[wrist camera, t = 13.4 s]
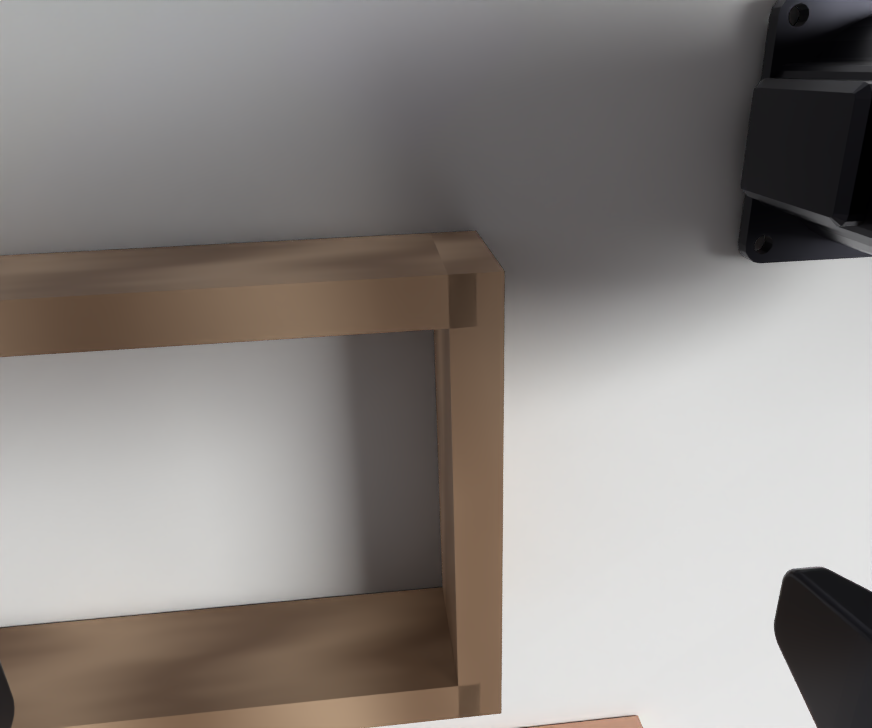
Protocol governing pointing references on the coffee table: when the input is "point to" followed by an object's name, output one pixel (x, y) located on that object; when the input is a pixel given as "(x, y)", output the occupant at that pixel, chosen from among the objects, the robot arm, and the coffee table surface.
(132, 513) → the coffee table surface
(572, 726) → the terracotta coaster
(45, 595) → the coffee table surface
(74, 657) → the frame
